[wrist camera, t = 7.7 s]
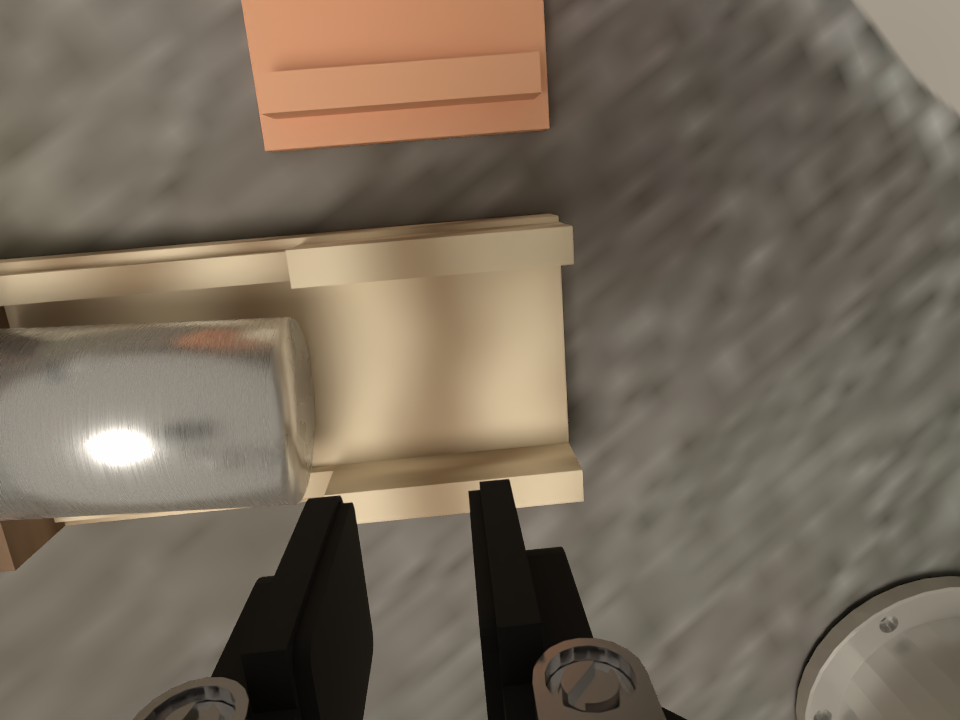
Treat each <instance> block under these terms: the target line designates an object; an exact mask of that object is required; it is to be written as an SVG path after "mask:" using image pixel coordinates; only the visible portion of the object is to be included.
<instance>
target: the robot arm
mask: <svg viewBox="0 0 960 720" xmlns="http://www.w3.org/2000/svg"><path fill="white" fill-rule="evenodd" d="M479 484H480V490H473V491H468V494H469V506H470V518H471V530H472V542H473V554H474V567H475V579H476V591H477V603H478V615H479V627H480V638H481V649H482V660H483V671H484V681H485V692H486V703H487V714H488V720H686V719H684V718H683V717H681V716H679V715H677V714H675V713H673V712H671V711H669V710H667V709H665V708H663V707H661V705H660V702H659V700H658V697H657V695H656V693H655V690H654V688H653V685H652V683H651V680H650V678H649V675H648V673H647V671H646V669H645V667H644V666H643V664H642V663H641V661H640V659H639V658H637V657H636V656H635V655H634V654H633V653H631V652H630V651H629V650H628V649H626V648H624V647H622V646H620V645H618V644H616V643H614V642H611V641H606V640H602V639H598V638H593V636H592V633H591V630H590V627H589V624H588V621H587V618H586V615H585V611H584V608H583V605H582V602H581V599H580V596H579V593H578V590H577V587H576V584H575V581H574V578H573V575H572V572H571V569H570V566H569V563H568V560H567V557H566V554H565V552H564V549H563V547H554V548H544V549H534V550H525V546H524V541H523V537H522V533H521V528H520V524H519V519H518V515H517V510H516V506H515V502H514V497H513V493H512V488H511V484H510V480H509V479H502V480H492V481H482V482H479ZM372 655H373V632H372V624H371V617H370V611H369V604H368V597H367V590H366V583H365V576H364V569H363V562H362V555H361V548H360V541H359V535H358V528H357V521H356V514H355V508H354V504H353V503H352V502H350V503H343V500H342V497H341V496H340V495H338V496H328V497H318V498H308V500H307V502H306V504H305V506H304V509H303V511H302V513H301V515H300V518H299V520H298V522H297V525H296V527H295V529H294V532H293V534H292V536H291V539H290V541H289V543H288V545H287V548H286V550H285V552H284V555H283V557H282V559H281V562H280V564H279V566H278V569H277V571H276V573H275V575H274V576H267V577H261V578H259V579H258V580H257V582H256V583H255V585H254V587H253V589H252V591H251V594H250V596H249V598H248V600H247V602H246V604H245V606H244V608H243V610H242V613H241V615H240V617H239V619H238V621H237V623H236V625H235V627H234V629H233V632H232V634H231V636H230V638H229V640H228V642H227V644H226V646H225V648H224V651H223V653H222V655H221V657H220V659H219V661H218V663H217V665H216V667H215V670H214V672H213V674H212V676H211V677H206V678H202V679H197V680H192V681H188V682H186V683H184V684H181V685H179V686H176V687H174V688H171V689H170V690H168V691H166V692H165V693H163V694H161V695H160V696H158V697H157V698H155V699H153V700H152V701H151V702H150V703H149V704H148V705H147V706H145V707H144V708H143V709H142V710H141V711H140V712H139V713H138V714H137V715H136V716H135V718H134V719H133V720H363V715H364V709H365V702H366V695H367V689H368V682H369V675H370V669H371V662H372ZM796 717H797V720H960V577H957V576H945V577H936V578H926V579H921V580H918V581H914V582H910V583H907V584H903V585H899V586H897V587H895V588H892V589H890V590H888V591H886V592H884V593H881V594H879V595H877V596H875V597H873V598H871V599H870V600H868V601H867V602H865V603H863V604H862V605H860V606H859V607H857V608H856V609H854V610H853V611H851V612H850V613H849V614H848V615H847V616H846V617H844V618H843V619H842V620H841V621H840V622H839V623H838V624H837V625H835V626H834V627H833V628H832V629H831V631H830V632H829V633H828V634H827V636H826V637H825V638H824V639H823V640H822V642H821V643H820V644H819V645H818V646H817V648H816V650H815V652H814V653H813V655H812V657H811V659H810V660H809V662H808V664H807V666H806V667H805V670H804V673H803V676H802V679H801V682H800V685H799V688H798V694H797V702H796Z"/></svg>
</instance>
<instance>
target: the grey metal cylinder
mask: <svg viewBox="0 0 960 720" xmlns="http://www.w3.org/2000/svg"><path fill="white" fill-rule="evenodd" d="M314 440H315V402H314V388H313V378H312V370H311V364H310V358H309V353H308V349H307V345H306V341H305V338H304V335H303V333H302V330H301V328H300V326H299V324H298V323H297V321H296V320H295V319H293V318H291V317H278V318H254V319H229V320H205V321H180V322H156V323H131V324H107V325H82V326H58V327H33V328H9V329H0V521H4V520H23V519H41V518H59V517H78V516H96V515H114V514H133V513H151V512H169V511H188V510H206V509H225V508H243V507H261V506H280V505H296V504H298V503H299V502H300V501H301V500H302V498H303V497H304V494H305V492H306V489H307V486H308V483H309V479H310V474H311V469H312V462H313V453H314Z"/></svg>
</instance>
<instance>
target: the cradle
mask: <svg viewBox="0 0 960 720" xmlns="http://www.w3.org/2000/svg"><path fill="white" fill-rule="evenodd" d="M241 1H242V7H243V14H244V20H245V26H246V33H247V39H248V45H249V51H250V58H251V64H252V70H253V76H254V83H255V89H256V95H257V101H258V108H259V114H260V120H261V127H262V133H263V139H264V145H265V151H269V152H282V151H295V150H307V149H320V148H332V147H345V146H358V145H370V144H383V143H395V142H408V141H420V140H433V139H445V138H458V137H471V136H483V135H496V134H508V133H521V132H533V131H545V130H547V129H549V107H548V86H547V65H546V44H545V23H544V2H543V0H241Z"/></svg>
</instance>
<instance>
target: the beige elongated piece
mask: <svg viewBox="0 0 960 720" xmlns="http://www.w3.org/2000/svg"><path fill="white" fill-rule="evenodd" d="M570 264H574V250H573V226H571V225H567V224H564V223H561V222H559V218H558V216H557V215H553V214H538V215H526V216H514V217H502V218H490V219H478V220H466V221H455V222H443V223H431V224H419V225H407V226H395V227H383V228H371V229H359V230H348V231H336V232H324V233H312V234H300V235H288V236H276V237H264V238H252V239H241V240H229V241H217V242H205V243H193V244H181V245H169V246H157V247H145V248H134V249H122V250H110V251H98V252H86V253H74V254H62V255H50V256H39V257H27V258H15V259H3V260H0V329H9V328H33V327H58V326H82V325H107V324H131V323H156V322H180V321H205V320H229V319H254V318H278V317H291V318H293V319H295V320H296V321H297V323H298V324H299V326H300V328H301V330H302V333H303V335H304V338H305V341H306V345H307V349H308V353H309V358H310V364H311V370H312V378H313V388H314V402H315V440H314V453H313V462H312V469H311V474H310V479H309V483H308V486H307V489H306V492H305V494H304V497H303V498H302V500H301V501H300V502H307V500H308V498H318V497H328V496H338V495H340V496H341V497H342V500H343V503H350V502H352V503H353V504H354V508H355V514H356V521H357V524H359V523H369V522H379V521H389V520H400V519H410V518H420V517H430V516H440V515H450V514H460V513H470V506H469V494H468V491H473V490H480V484H479V482H482V481H492V480H502V479H509V480H510V484H511V488H512V493H513V497H514V502H515V506H516V508H520V507H530V506H540V505H550V504H560V503H570V502H580V501H584V498H583V474H582V468H581V466H580V464H579V462H578V460H577V458H576V456H575V454H574V452H573V450H572V448H571V446H570V444H569V436H568V415H567V393H566V371H565V349H564V327H563V305H562V283H561V265H570ZM243 508H247V507H243ZM227 509H237V508H225V509H206V510H188V511H169V512H151V513H133V514H114V515H96V516H78V517H59V518H41V519H23V520H4V521H0V572H6V571H15V570H16V569H17V568H19V567H20V566H21V565H22V564H23V563H24V562H25V561H26V560H27V559H29V558H30V557H31V556H32V555H33V554H34V553H35V552H36V551H37V550H39V549H40V548H41V547H42V546H43V545H44V544H45V543H46V542H47V541H48V540H50V539H51V538H52V537H53V536H54V535H55V534H56V533H57V532H58V531H60V530H61V529H62V528H63V527H64V526H65V525H74V524H84V523H94V522H105V521H115V520H125V519H135V518H145V517H155V516H166V515H176V514H186V513H196V512H206V511H216V510H227Z"/></svg>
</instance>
